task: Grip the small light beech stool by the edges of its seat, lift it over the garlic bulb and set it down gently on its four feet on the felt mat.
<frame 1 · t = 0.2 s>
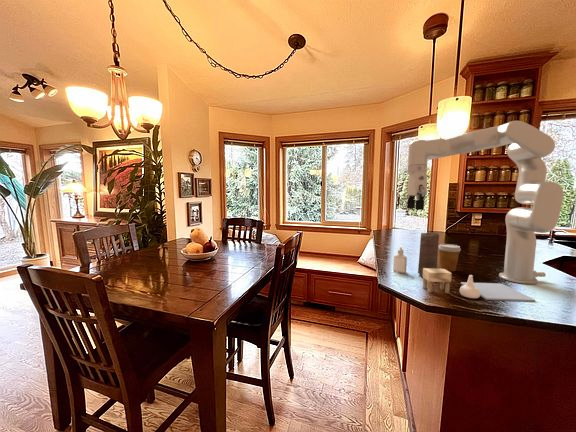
hand: (415, 208, 112), 31 cm above the countertop, tool pointing down, fingers open, 9 cm apart
disposable coffee cup: (447, 269, 125), on the countertop
garlic bulb: (469, 296, 94), on the countertop
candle: (426, 276, 115), on the countertop
beech stool: (435, 290, 99), on the countertop
eye dropper bottle: (399, 272, 122), on the countertop
felt mat: (494, 291, 97), on the countertop
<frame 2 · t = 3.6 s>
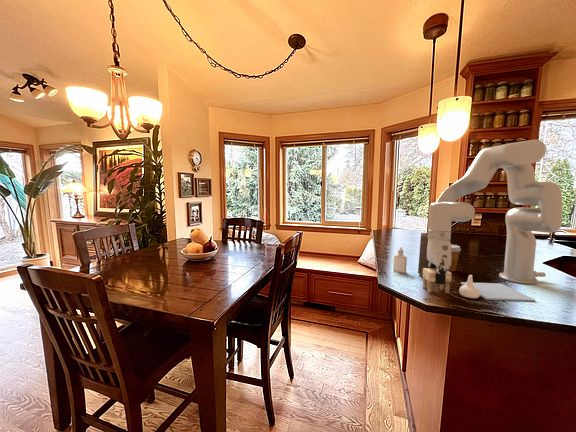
hand: (436, 280, 98), 4 cm above the countertop, tool pointing down, fingers closed on beech stool, 5 cm apart
beech stool: (435, 290, 99), on the countertop, touching gripper
everything else where it was.
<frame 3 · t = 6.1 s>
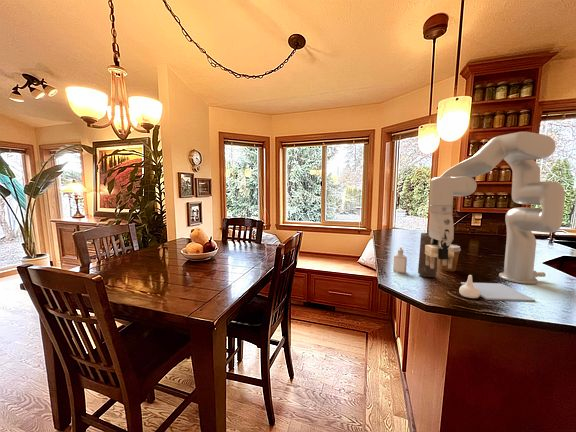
hand: (438, 256, 97), 14 cm above the countertop, tool pointing down, fingers closed on beech stool, 5 cm apart
beech stool: (438, 266, 98), point 9 cm above the countertop, touching gripper
everything else where it was.
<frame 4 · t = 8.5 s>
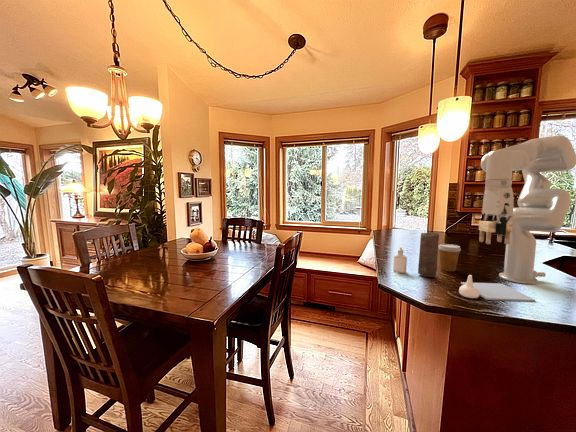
hand: (494, 232, 95), 23 cm above the countertop, tool pointing down, fingers closed on beech stool, 5 cm apart
beech stool: (493, 242, 96), point 19 cm above the countertop, touching gripper
everything else where it was.
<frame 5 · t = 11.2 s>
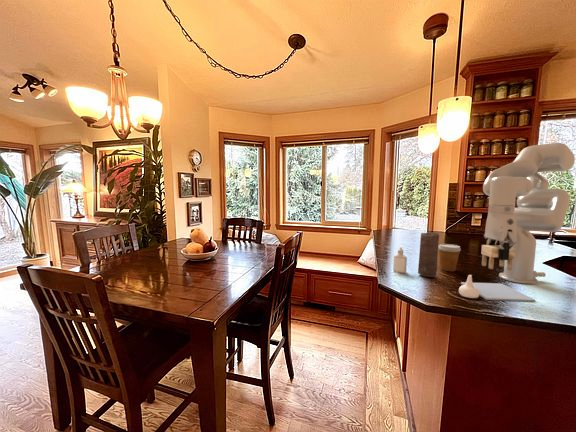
hand: (497, 257, 96), 14 cm above the countertop, tool pointing down, fingers closed on beech stool, 5 cm apart
beech stool: (496, 267, 96), point 10 cm above the countertop, touching gripper
everything else where it was.
when the fingers open (6 cm above the countertop, at t = 13.5 s): beech stool drops 1 cm, resting on felt mat.
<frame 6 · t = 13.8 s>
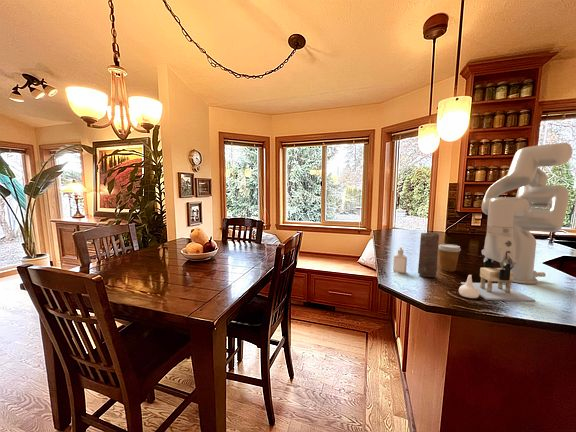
hand: (495, 276, 97), 6 cm above the countertop, tool pointing down, fingers open, 8 cm apart
beech stool: (494, 290, 97), point 1 cm above the countertop, touching felt mat
everything else where it was.
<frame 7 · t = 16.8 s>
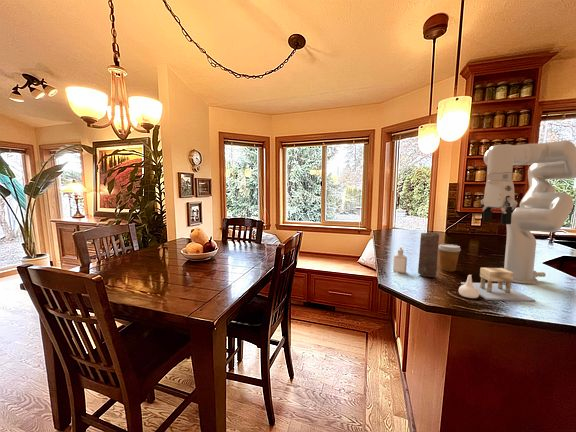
hand: (496, 222, 99), 26 cm above the countertop, tool pointing down, fingers open, 9 cm apart
nothing on the countertop moved.
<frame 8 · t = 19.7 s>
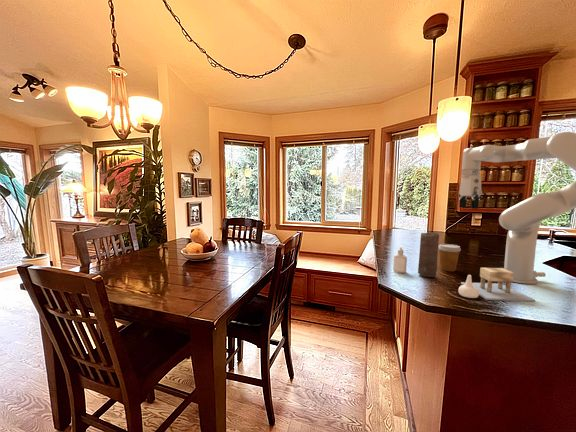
hand: (468, 207, 127), 30 cm above the countertop, tool pointing down, fingers open, 9 cm apart
nothing on the countertop moved.
at the end: beech stool inside the target area on the felt mat (0.1 cm from its centre), point 0.6 cm above the felt mat's base; beech stool tilted 0°; the gripper is holding nothing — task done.
